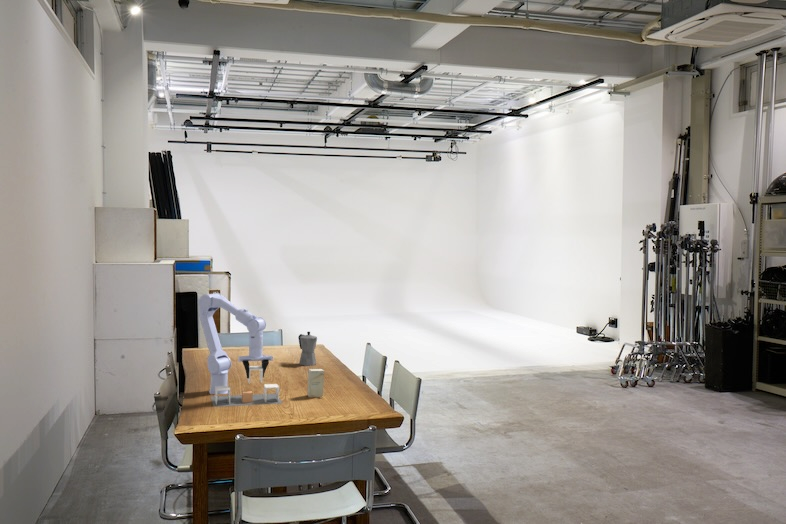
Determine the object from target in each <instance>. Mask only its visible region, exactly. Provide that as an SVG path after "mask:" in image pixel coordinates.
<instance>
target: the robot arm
mask: <svg viewBox="0 0 786 524" xmlns="http://www.w3.org/2000/svg"><path fill="white" fill-rule="evenodd" d="M197 304H198V317H199V321H200V323H201V327H202V330H203V335H204V338H205V340H206V345H207V348H208V351H209V354H208V356H207V358H206V360H207V370H208V372H209V373H210V389H208V392H209V394H210V395H215V386H228V384H229V383H228V382H229V381H228V380H229V379H228V377H229V376H228V373H229V370H230V369H231V367H232V361H231V358H230V357H229V356H228V353H227V352H226V351H225V350H224V349H223V347H222V344H221V341H220V337H219V333H218V330H217V326H216V324H215V320H214V317H213V316H214V314H215V312H216V311H218V309H223V310H225V311H226V312H228V313H230V314H231V315H234V316H235V320H236V321H238V323H240V324H242V325H243V326H245V327H246V328H247V330H248V335H249V336H248V337H249V338H248V339H249V340H248V341H249V342H248V355H241V356H240V355H239V356H238V357H237V359H238V360H237V361H238V363H240V362H242V364H243V367H244V369H245V374H246V379H248V378H249V366H250V363H249V362H259V361H261V367H262V368H263V379H264V378H265V373H266V369H267V367H268V366H269V363H270V361H274V356H273V355H263V351H264V350H263V347H264V345H263V344H264V330H265V329H266V326H267V323H266V320H265V319H264V318H263V317H257V315H256V314H253V313H251V312H250V311H249V310H248V308H241V309H240V308H239V307H238V306H236V305H235V304H233V302H232V301H229V299H227V298H226V296H225V295H222V294H221V293H219V292H215V293H208V294H206V293H205V294H202V295H200V298H199V299H198V301H197ZM226 394H227V395H228V390H227V391H217V395H226Z"/></svg>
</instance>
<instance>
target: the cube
mask: <svg viewBox="0 0 786 524" xmlns="http://www.w3.org/2000/svg"><path fill="white" fill-rule="evenodd" d="M241 395H242V402H243V403H250V402H253V395H254V393H253V391H252V390H242V391H241Z"/></svg>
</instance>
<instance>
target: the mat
mask: <svg viewBox="0 0 786 524" xmlns="http://www.w3.org/2000/svg"><path fill="white" fill-rule="evenodd" d="M263 395H264V393H260V394H259V393H258V394H253V402H250V403H243V402H242V394H241V395H240V394H239V395H237V394H236V395H230V404H229V402H228V395H219V396H218V395H217V405H216V403H215V395H214V396H213V395H212V396H210V400H211V403H212V407H213V408H218V407H220V408H221V407H222V408H223V407H237V406H256V405H257V406H259V405H277V404H281V405H282V404H283V401H282V400H281V399H280V397H279V402H278V401H277V400H276V393H267V399H266V402H265V401H264V399H263Z"/></svg>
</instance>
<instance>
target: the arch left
mask: <svg viewBox="0 0 786 524" xmlns="http://www.w3.org/2000/svg"><path fill="white" fill-rule="evenodd" d="M227 390H228V394H227V396H228V402H229V404H230V396H231V387H230V385H227V386H215V394H214V396H215V403H216V405H217V396H218V394H217V391H227Z"/></svg>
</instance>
